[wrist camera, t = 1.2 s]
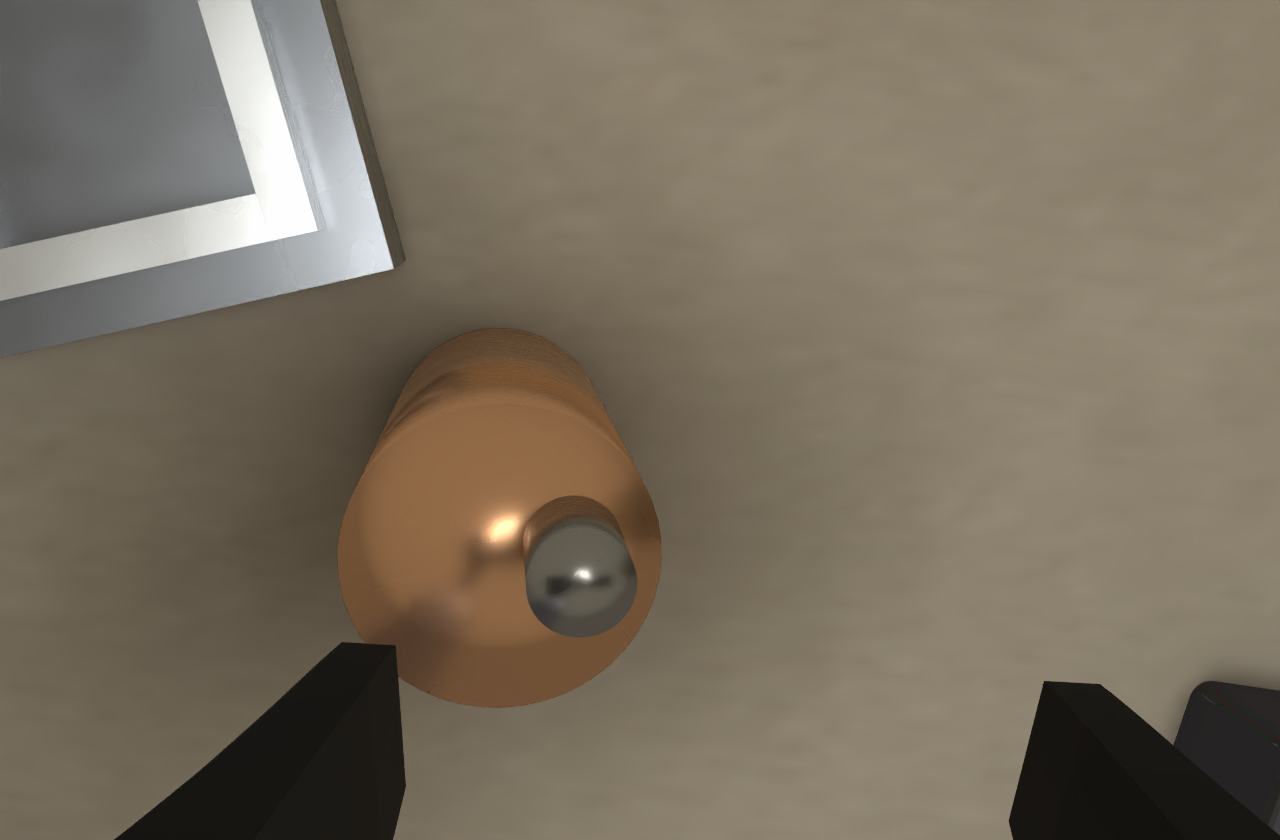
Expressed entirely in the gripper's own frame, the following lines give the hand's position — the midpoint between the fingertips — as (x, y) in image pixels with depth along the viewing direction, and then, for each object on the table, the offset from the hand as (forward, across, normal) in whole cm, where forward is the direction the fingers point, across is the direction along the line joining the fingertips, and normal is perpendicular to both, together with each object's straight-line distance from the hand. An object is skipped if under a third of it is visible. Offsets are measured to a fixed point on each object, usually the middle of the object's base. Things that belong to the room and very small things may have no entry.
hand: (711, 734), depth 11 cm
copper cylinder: (+11, +4, +1) cm, 12 cm away
